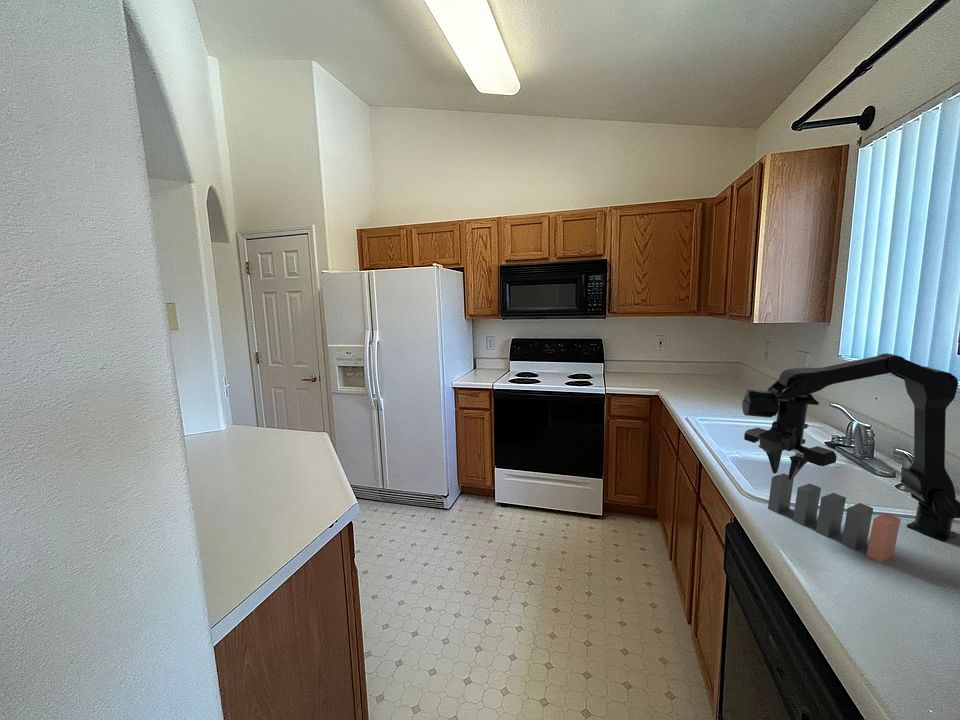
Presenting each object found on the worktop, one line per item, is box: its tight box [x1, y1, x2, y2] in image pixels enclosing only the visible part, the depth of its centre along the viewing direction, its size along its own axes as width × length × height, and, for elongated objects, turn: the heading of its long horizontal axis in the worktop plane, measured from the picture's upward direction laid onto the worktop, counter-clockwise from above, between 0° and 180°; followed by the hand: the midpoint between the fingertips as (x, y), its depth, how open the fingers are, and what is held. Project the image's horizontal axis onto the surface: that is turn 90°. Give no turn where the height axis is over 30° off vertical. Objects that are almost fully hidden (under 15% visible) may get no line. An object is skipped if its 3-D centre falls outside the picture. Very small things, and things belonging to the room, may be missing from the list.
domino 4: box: [840, 502, 874, 551], centre depth 89 cm, size 2×5×9 cm, turn 113°
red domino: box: [866, 513, 902, 564], centre depth 85 cm, size 2×5×9 cm, turn 113°
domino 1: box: [767, 473, 795, 514], centre depth 104 cm, size 2×5×9 cm, turn 113°
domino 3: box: [815, 492, 847, 538], centre depth 94 cm, size 2×5×9 cm, turn 113°
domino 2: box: [792, 483, 822, 526], centre depth 98 cm, size 2×5×9 cm, turn 113°
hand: (782, 476), depth 103 cm, fingers open, 3 cm apart
